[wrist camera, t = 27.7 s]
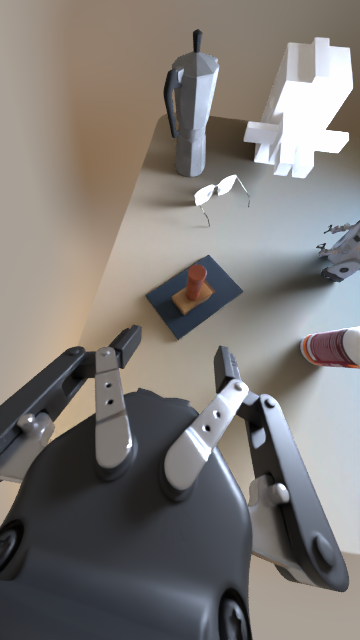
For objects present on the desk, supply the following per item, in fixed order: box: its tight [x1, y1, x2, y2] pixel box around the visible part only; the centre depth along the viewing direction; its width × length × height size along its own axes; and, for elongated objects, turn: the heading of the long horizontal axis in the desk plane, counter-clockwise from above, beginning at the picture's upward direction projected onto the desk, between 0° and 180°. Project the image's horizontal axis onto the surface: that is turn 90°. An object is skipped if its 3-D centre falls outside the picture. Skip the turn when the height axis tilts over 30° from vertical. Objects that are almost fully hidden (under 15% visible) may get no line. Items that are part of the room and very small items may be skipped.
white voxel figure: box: [244, 37, 353, 178], centre depth 36 cm, size 15×25×28 cm
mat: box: [146, 255, 243, 340], centre depth 30 cm, size 18×12×1 cm, turn 127°
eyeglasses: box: [194, 175, 250, 227], centre depth 35 cm, size 14×8×4 cm, turn 122°
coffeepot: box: [164, 29, 219, 177], centre depth 32 cm, size 15×9×18 cm, turn 136°
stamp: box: [172, 264, 213, 316], centre depth 24 cm, size 7×4×10 cm, turn 126°
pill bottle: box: [300, 327, 360, 368], centre depth 22 cm, size 6×6×11 cm
